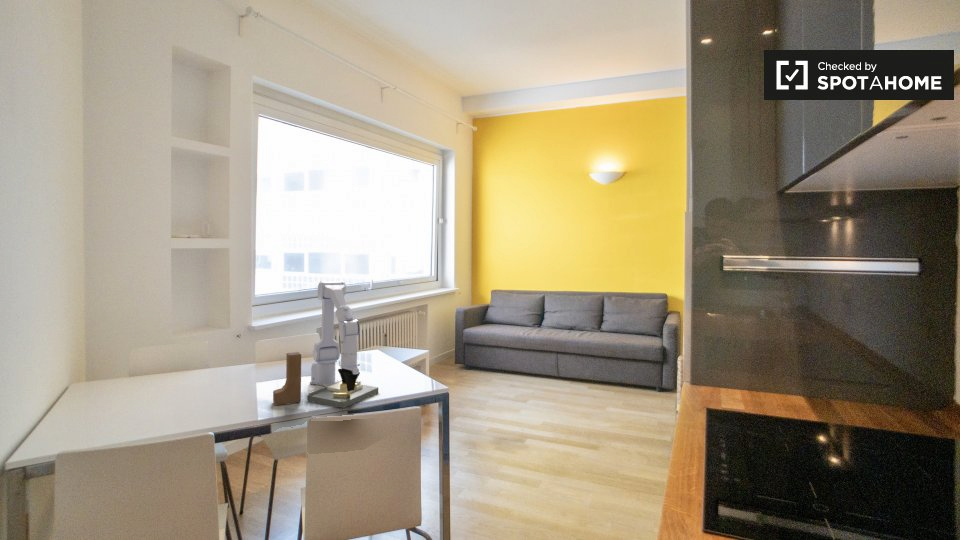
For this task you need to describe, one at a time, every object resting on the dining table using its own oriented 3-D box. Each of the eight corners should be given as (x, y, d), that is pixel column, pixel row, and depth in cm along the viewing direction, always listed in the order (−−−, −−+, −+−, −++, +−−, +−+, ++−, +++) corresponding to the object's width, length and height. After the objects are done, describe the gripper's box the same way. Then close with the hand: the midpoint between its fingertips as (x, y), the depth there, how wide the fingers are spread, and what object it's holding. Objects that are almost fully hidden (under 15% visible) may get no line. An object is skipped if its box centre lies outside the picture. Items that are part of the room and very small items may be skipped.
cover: (327, 390, 194) (327, 383, 194) (342, 384, 202) (342, 378, 202) (348, 393, 190) (348, 387, 190) (362, 387, 198) (362, 381, 198)
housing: (307, 400, 187) (307, 392, 187) (343, 386, 206) (343, 379, 206) (344, 408, 180) (344, 399, 180) (378, 392, 200) (378, 384, 200)
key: (332, 397, 185) (333, 383, 185) (333, 396, 187) (334, 382, 187) (356, 397, 186) (356, 384, 186) (356, 396, 187) (357, 383, 187)
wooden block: (274, 406, 180) (275, 356, 179) (273, 402, 184) (273, 353, 183) (301, 402, 185) (301, 354, 184) (298, 399, 189) (299, 351, 188)
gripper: (367, 355, 182) (366, 392, 183) (352, 348, 194) (351, 382, 194) (348, 357, 178) (347, 395, 179) (334, 349, 189) (333, 385, 190)
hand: (348, 389), depth 186 cm, fingers closed on key, 3 cm apart
